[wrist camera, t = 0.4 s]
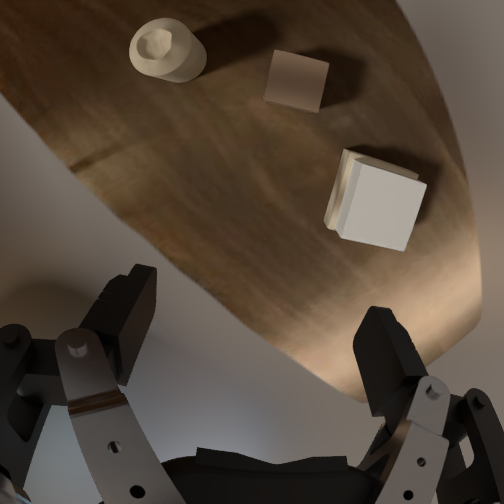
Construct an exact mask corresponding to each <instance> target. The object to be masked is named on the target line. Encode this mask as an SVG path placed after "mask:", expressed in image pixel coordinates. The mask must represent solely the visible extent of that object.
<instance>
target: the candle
mask: <svg viewBox="0 0 504 504" xmlns="http://www.w3.org/2000/svg"><path fill="white" fill-rule="evenodd" d="M129 53H130V59H131V62H132V64H133V65H134V67H135V68H136V69H137V70H138V71H140V72H141V73H143V74H146V75H149V76H153V77H157V78H161V79H164V80H168V81H172V82H178V83H181V82H187V81H190V80H192V79H194V78H196V77H197V76H198V75H199V74H200V73H201V72H202V71H203V69H204V67H205V65H206V61H207V54H206V50H205V48H204V46H203V45H202V44H201V42H200V41H199V40H198V39H197V38H196V37H195V36H194V35H193V34H192V33H191V31H190V30H189V29H188V28H187V27H186V26H185V25H184V24H183V23H181V22H180V21H178V20H175V19H171V18H160V19H156V20H153V21H151V22H149V23H147V24H145V25H144V26H143V27H141V28H140V29H139V30H138V31H137V33H136V34H135V36H134V37H133V39H132V41H131V44H130V52H129Z"/></svg>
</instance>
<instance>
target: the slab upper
mask: <svg viewBox="0 0 504 504" xmlns="http://www.w3.org/2000/svg"><path fill="white" fill-rule="evenodd" d="M426 186H427V184H425V183H423V182H421V181H419V180H417V179H415V178H412V177H409V176H406V175H403V174H400V173H397V172H394V171H391V170H388V169H385V168H382V167H378V166H375V165H372V164H369V163H365V162H362V161H358V160H355V159H354V160H353V163H352V167H351V171H350V175H349V178H348V182H347V185H346V189H345V193H344V196H343V200H342V203H341V207H340V210H339V214H338V217H337V221H336V224H335V227H334V228H335V229H336V231H337V232H338V234H339V236H340V237H341V238H344V239H348V240H353V241H358V242H363V243H367V244H372V245H377V246H381V247H386V248H390V249H395V250H399V251H404V250H405V247H406V245H407V242H408V239H409V237H410V234H411V231H412V228H413V226H414V223H415V220H416V217H417V214H418V211H419V208H420V205H421V202H422V199H423V196H424V193H425V189H426Z"/></svg>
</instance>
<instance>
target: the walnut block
mask: <svg viewBox="0 0 504 504" xmlns="http://www.w3.org/2000/svg"><path fill="white" fill-rule="evenodd" d="M328 68H329V63H327V62H323V61H320V60H316V59H312V58H309V57H305V56H301V55H297V54H293V53H288V52H284V51H279V50H275V51H274V54H273V57H272V61H271V65H270V70H269V74H268V79H267V83H266V88H265V92H264V97H263V102H265V103H270V104H275V105H279V106H284V107H288V108H292V109H297V110H301V111H305V112H312V113H318V112H319V107H320V103H321V99H322V94H323V90H324V86H325V81H326V77H327V72H328Z"/></svg>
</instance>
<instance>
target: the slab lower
mask: <svg viewBox="0 0 504 504" xmlns="http://www.w3.org/2000/svg"><path fill="white" fill-rule="evenodd" d="M354 159H355V160H358V161H362V162H365V163H369V164H372V165H375V166H378V167H382V168H385V169H388V170H391V171H394V172H397V173H400V174H403V175H406V176H409V177H412V178H415V179H418V176H419V175H418V174H416V173H414V172H413V171H411V170H408V169H406V168H403V167H400V166H397V165H394V164H391V163H388V162H385V161H382V160H379V159H376V158H373V157H370V156H367V155H364V154H360V153H357V152H354V151H350V150H347V149H344V150H343V154H342V157H341V161H340V165H339V169H338V172H337V176H336V179H335V183H334V187H333V190H332V194H331V197H330V201H329V204H328V207H327V211H326V214H325V217H324V222H325V224H326V226H327V228H328V229H332V230H336V229H335V228H334V227H335V224H336V221H337V217H338V214H339V210H340V207H341V203H342V200H343V196H344V193H345V189H346V185H347V182H348V178H349V175H350V171H351V167H352V163H353V160H354Z"/></svg>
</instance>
